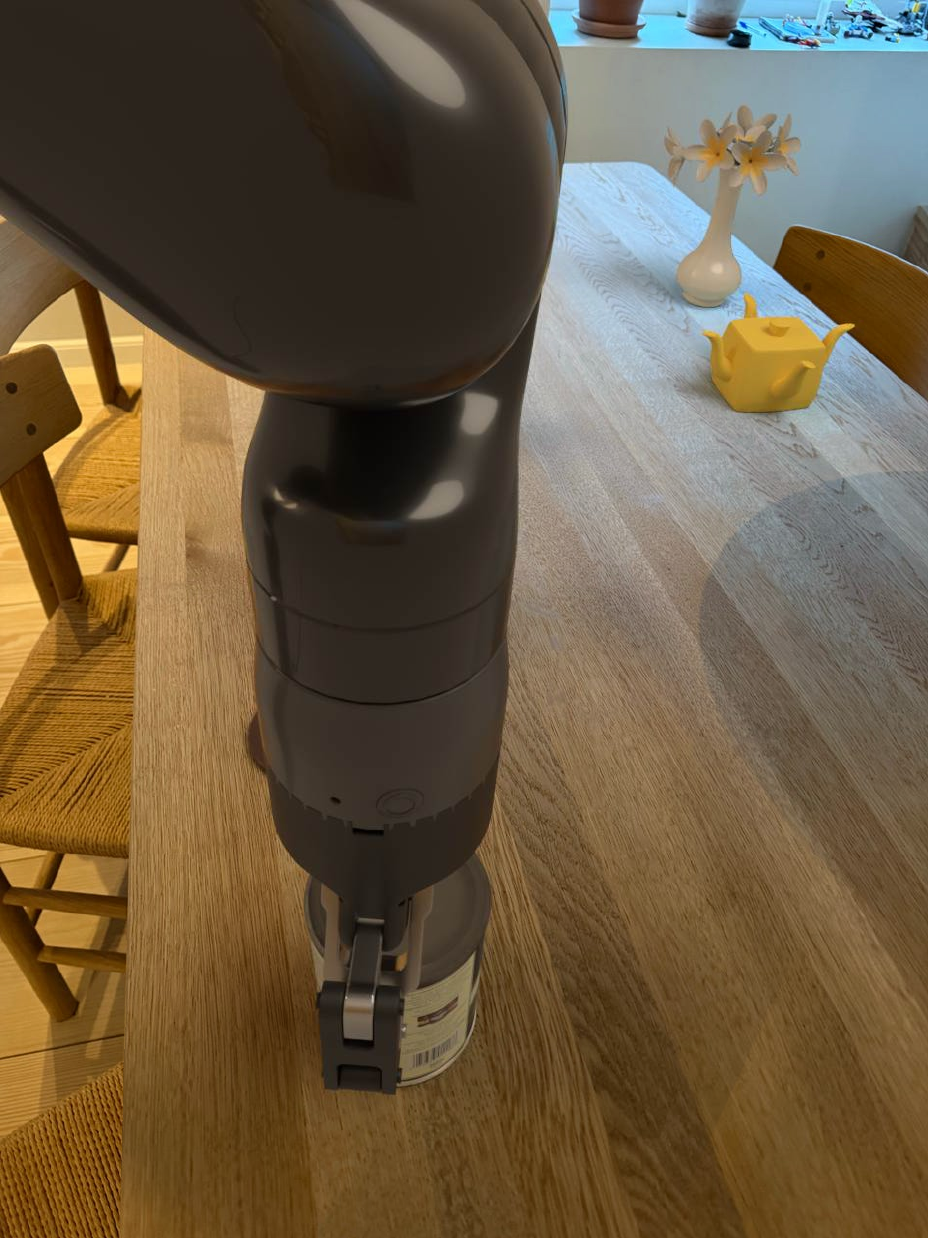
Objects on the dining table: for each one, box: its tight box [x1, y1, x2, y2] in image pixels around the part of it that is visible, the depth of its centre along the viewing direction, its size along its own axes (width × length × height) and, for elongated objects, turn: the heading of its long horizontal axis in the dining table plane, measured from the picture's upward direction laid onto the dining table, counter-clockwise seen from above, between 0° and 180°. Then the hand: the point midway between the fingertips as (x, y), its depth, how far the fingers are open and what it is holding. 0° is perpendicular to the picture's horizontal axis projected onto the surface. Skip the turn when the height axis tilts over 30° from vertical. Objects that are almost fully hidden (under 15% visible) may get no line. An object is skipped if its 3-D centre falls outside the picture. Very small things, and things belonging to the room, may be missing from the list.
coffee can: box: [303, 851, 492, 1088], centre depth 57 cm, size 10×10×14 cm
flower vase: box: [663, 104, 802, 308], centre depth 130 cm, size 13×18×25 cm
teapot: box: [700, 293, 856, 413], centre depth 118 cm, size 15×14×10 cm
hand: (384, 961), depth 41 cm, fingers open, 8 cm apart
